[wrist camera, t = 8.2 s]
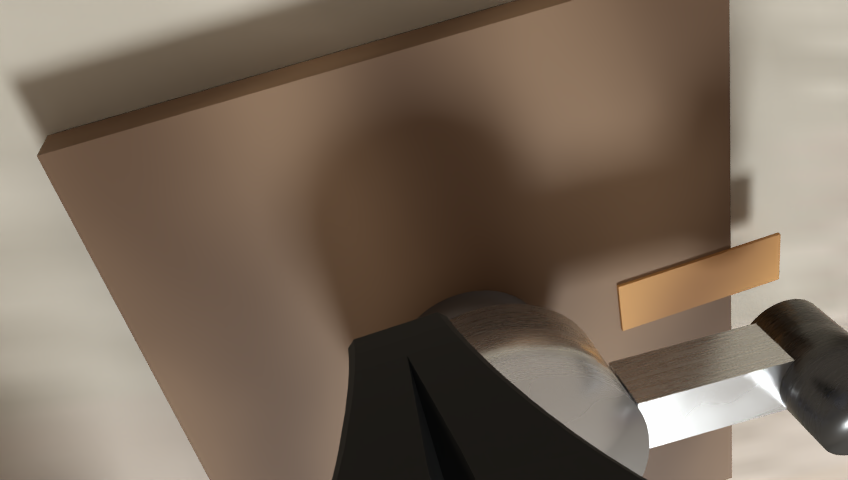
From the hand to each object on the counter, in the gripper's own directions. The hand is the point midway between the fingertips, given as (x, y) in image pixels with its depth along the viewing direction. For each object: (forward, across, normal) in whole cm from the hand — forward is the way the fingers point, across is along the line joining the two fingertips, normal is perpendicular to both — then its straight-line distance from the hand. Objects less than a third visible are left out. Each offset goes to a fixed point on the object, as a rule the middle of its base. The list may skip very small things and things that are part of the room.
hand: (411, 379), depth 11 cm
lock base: (+9, -2, +7) cm, 12 cm away
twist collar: (+6, -5, +7) cm, 11 cm away
